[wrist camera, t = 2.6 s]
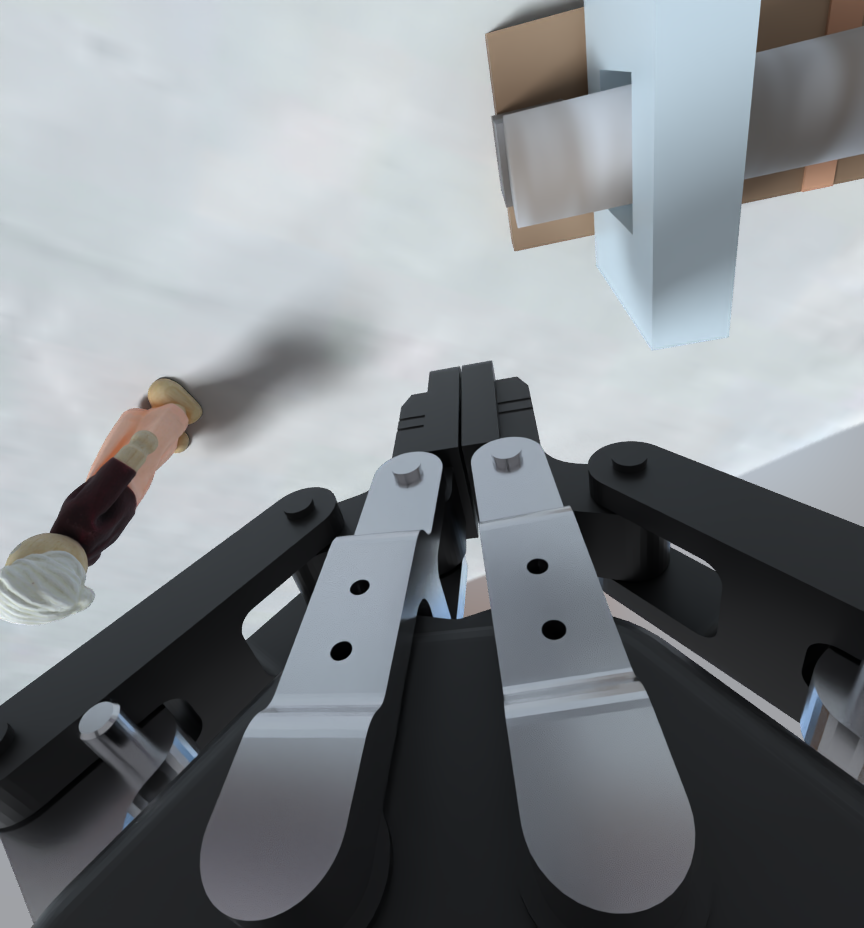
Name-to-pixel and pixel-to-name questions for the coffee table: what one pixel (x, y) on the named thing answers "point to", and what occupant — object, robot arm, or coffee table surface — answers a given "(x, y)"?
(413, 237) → the coffee table surface
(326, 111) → the coffee table surface
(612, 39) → the square plate with hole
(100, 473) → the grandmother figurine
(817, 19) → the pipe stand
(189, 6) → the coffee table surface
